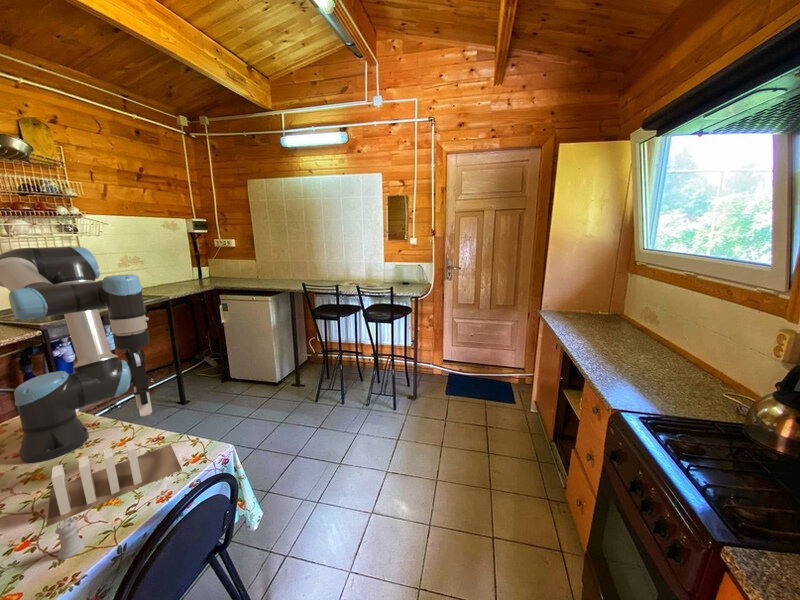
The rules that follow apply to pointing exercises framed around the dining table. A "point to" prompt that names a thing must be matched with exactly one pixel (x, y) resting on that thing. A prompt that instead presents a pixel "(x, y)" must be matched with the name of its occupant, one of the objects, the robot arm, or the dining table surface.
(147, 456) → the walnut board
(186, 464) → the dining table surface
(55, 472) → the domino
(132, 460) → the domino
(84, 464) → the domino
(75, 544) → the rook chess piece
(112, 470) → the domino
